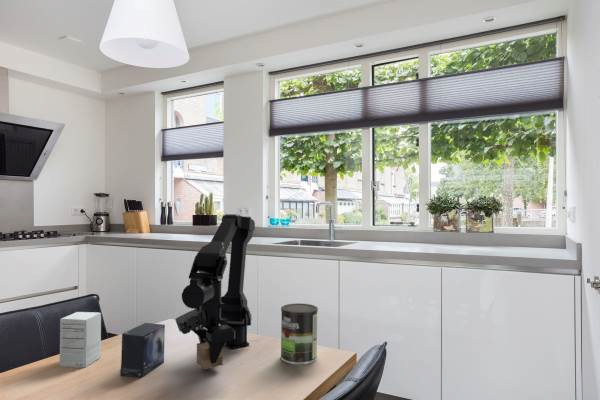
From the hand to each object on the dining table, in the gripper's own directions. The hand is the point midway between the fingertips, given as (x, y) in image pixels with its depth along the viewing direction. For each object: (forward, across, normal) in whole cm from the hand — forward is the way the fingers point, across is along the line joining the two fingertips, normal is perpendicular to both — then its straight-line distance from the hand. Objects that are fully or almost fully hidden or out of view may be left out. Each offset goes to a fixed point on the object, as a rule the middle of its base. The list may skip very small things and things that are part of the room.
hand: (209, 359), depth 105 cm
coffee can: (+3, +6, +24) cm, 25 cm away
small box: (+3, -10, -14) cm, 17 cm away
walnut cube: (+1, 0, 0) cm, 1 cm away
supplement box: (+3, -24, -27) cm, 36 cm away
